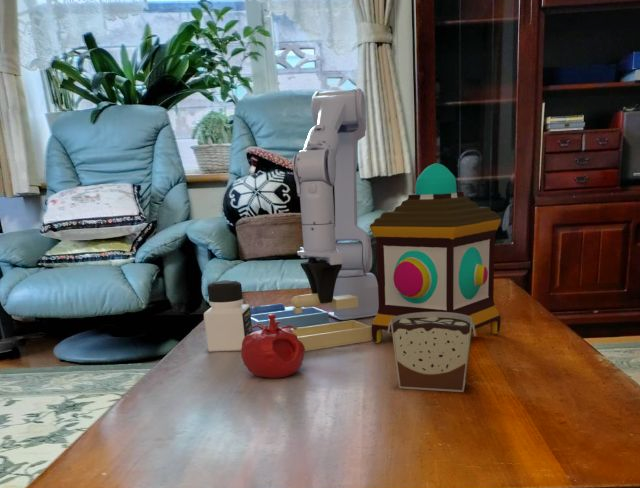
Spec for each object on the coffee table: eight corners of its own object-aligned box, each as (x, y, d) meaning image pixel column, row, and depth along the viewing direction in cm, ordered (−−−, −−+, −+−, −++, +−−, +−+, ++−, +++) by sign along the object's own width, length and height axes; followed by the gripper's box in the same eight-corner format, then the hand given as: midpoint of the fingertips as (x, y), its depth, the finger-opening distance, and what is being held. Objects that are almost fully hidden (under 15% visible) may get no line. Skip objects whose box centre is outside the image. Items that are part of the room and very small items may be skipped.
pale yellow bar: (350, 304, 128) (349, 287, 127) (358, 306, 125) (357, 290, 124) (288, 312, 123) (287, 295, 122) (295, 315, 120) (294, 297, 119)
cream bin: (354, 333, 132) (353, 319, 131) (372, 340, 126) (371, 326, 125) (280, 344, 126) (279, 330, 125) (295, 352, 120) (294, 338, 119)
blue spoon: (300, 313, 154) (298, 299, 153) (305, 315, 151) (304, 301, 149) (247, 320, 149) (246, 306, 148) (252, 322, 146) (251, 308, 145)
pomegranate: (232, 380, 105) (225, 320, 102) (262, 363, 114) (256, 308, 110) (289, 384, 102) (284, 322, 98) (316, 366, 110) (312, 309, 107)
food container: (482, 380, 99) (483, 312, 96) (474, 392, 94) (475, 321, 90) (400, 375, 103) (399, 310, 100) (389, 387, 98) (387, 318, 94)
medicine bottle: (247, 350, 123) (239, 283, 118) (207, 352, 123) (199, 285, 119) (253, 341, 129) (247, 277, 125) (216, 342, 129) (208, 279, 125)
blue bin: (314, 318, 147) (314, 306, 146) (328, 324, 140) (328, 312, 140) (247, 328, 141) (245, 315, 140) (258, 334, 135) (257, 321, 134)
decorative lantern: (456, 357, 112) (458, 161, 101) (360, 344, 123) (352, 167, 113) (510, 332, 127) (516, 159, 116) (420, 323, 138) (418, 164, 127)
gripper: (282, 223, 123) (288, 298, 128) (312, 227, 111) (318, 310, 116) (318, 220, 126) (323, 294, 131) (351, 224, 114) (355, 305, 118)
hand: (323, 301), depth 123 cm, fingers closed on pale yellow bar, 2 cm apart
